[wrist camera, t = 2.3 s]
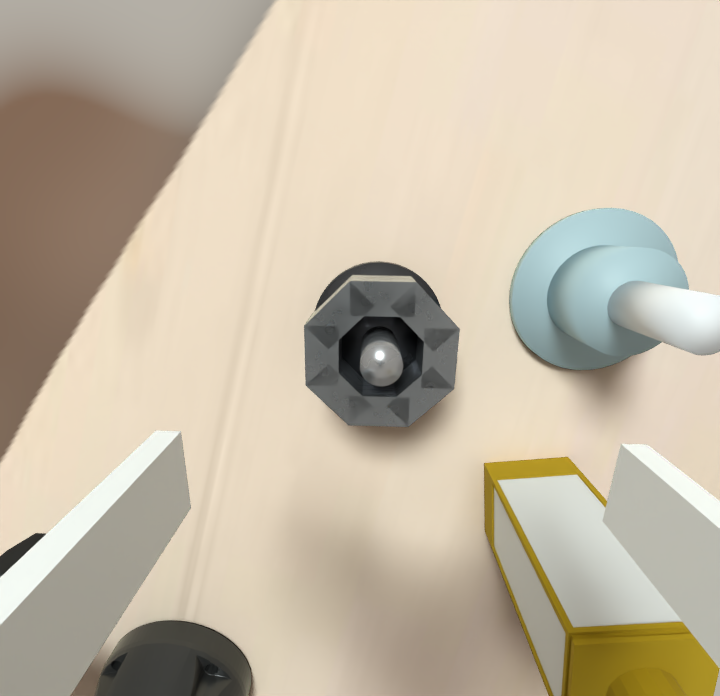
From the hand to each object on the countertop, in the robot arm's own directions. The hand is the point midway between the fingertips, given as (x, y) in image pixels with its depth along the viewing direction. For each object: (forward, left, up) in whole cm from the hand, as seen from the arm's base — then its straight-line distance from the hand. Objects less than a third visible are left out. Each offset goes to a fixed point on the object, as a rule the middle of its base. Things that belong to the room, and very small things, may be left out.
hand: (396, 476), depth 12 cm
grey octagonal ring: (0, 0, -15) cm, 15 cm away
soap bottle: (+14, -18, -20) cm, 30 cm away
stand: (0, 0, -20) cm, 20 cm away
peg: (+16, +3, -20) cm, 25 cm away
